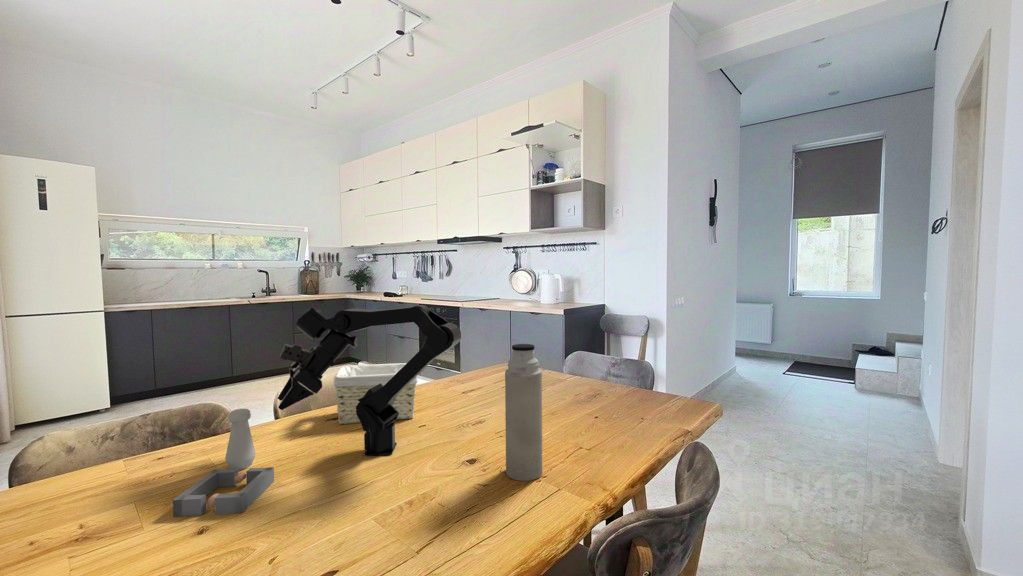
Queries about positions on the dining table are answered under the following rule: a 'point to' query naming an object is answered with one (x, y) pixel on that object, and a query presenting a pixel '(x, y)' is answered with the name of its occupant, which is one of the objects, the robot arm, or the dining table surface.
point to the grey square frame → (224, 503)
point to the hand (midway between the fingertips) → (279, 404)
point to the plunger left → (212, 500)
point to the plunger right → (240, 477)
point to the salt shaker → (240, 441)
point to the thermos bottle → (523, 414)
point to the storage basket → (361, 379)
